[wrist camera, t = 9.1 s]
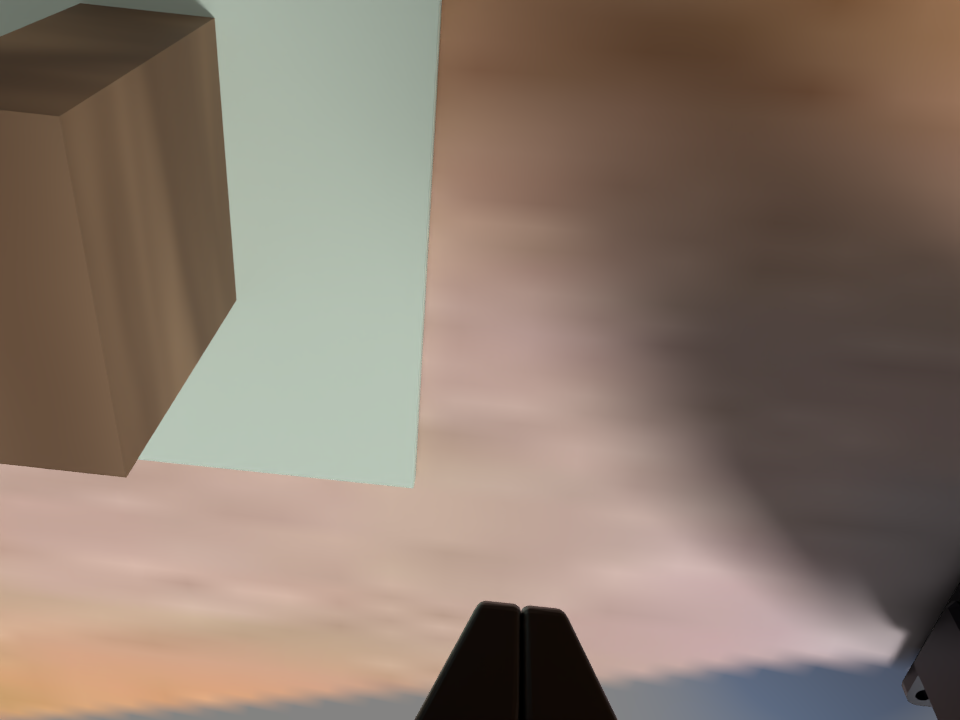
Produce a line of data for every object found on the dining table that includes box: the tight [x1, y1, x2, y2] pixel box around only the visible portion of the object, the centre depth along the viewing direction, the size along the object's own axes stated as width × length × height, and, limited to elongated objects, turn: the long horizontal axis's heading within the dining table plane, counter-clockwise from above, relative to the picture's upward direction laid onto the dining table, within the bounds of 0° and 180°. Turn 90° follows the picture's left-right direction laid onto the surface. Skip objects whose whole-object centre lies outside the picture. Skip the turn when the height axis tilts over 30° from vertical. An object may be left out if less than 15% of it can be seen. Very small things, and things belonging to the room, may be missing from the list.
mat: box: [0, 0, 442, 488], centre depth 17 cm, size 14×16×1 cm
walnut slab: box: [0, 3, 237, 477], centre depth 15 cm, size 2×6×6 cm, turn 175°
